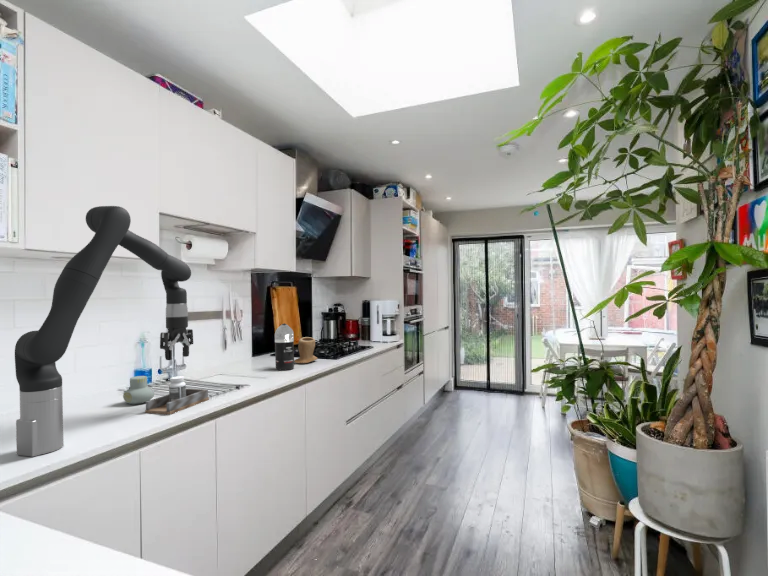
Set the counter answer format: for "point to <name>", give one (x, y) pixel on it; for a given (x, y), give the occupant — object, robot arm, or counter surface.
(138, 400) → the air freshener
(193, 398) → the grey tray
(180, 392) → the pill bottle
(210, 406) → the counter surface
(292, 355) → the black labeled bottle
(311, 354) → the stone cup
